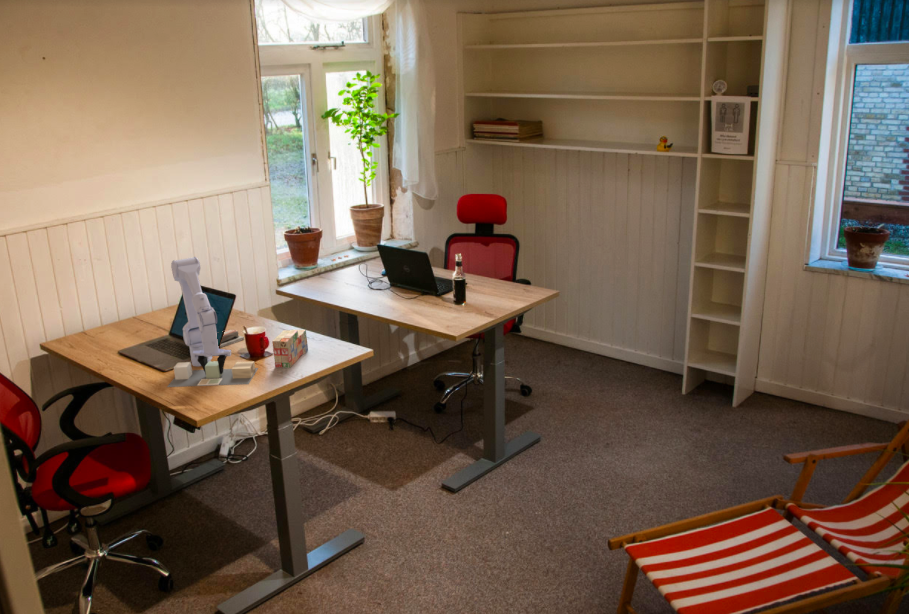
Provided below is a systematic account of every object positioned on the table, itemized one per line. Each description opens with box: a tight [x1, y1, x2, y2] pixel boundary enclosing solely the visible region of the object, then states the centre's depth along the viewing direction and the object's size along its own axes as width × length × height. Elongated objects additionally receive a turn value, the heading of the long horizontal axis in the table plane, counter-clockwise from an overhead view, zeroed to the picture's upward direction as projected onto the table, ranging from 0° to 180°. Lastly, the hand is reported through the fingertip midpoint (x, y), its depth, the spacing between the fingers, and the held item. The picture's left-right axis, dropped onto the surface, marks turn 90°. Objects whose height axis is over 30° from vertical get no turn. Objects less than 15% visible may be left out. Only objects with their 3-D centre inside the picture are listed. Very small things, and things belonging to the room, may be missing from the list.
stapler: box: [219, 329, 245, 349], centre depth 339 cm, size 18×5×10 cm
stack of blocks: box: [271, 329, 309, 369], centre depth 317 cm, size 21×6×12 cm, turn 171°
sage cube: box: [205, 360, 223, 378], centre depth 302 cm, size 5×5×5 cm
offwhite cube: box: [173, 361, 193, 380], centre depth 302 cm, size 5×5×5 cm
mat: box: [166, 367, 259, 388], centre depth 301 cm, size 16×31×1 cm, turn 90°
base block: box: [231, 361, 256, 379], centre depth 302 cm, size 7×7×4 cm
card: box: [196, 378, 222, 387], centre depth 297 cm, size 6×8×1 cm
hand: (214, 373), depth 303 cm, fingers closed on sage cube, 5 cm apart
